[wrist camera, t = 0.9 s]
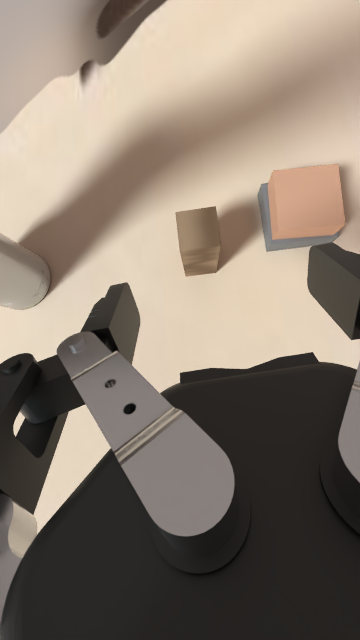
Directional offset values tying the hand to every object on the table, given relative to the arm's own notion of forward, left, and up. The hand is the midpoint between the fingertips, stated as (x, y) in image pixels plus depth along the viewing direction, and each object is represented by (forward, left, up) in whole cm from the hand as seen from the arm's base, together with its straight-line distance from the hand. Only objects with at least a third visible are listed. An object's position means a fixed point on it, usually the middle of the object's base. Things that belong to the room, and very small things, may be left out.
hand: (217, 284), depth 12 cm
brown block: (-4, +10, -26) cm, 28 cm away
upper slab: (+8, +19, -23) cm, 31 cm away
